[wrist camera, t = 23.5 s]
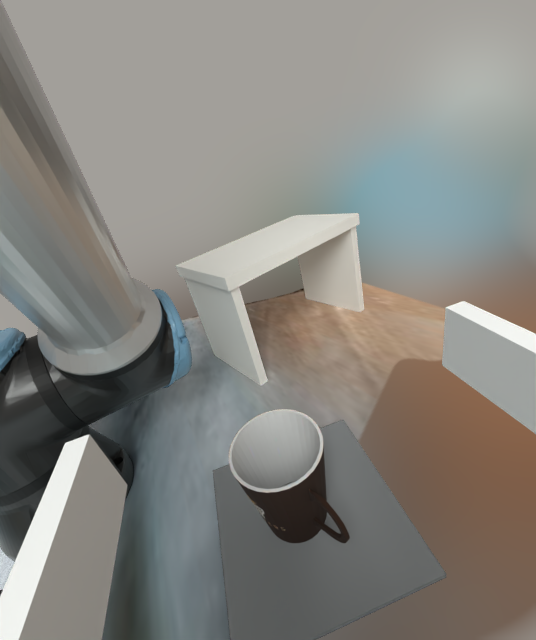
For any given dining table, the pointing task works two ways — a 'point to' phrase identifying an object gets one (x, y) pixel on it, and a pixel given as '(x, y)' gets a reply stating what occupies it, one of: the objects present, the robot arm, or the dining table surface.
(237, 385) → the dining table surface
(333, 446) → the placemat
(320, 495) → the coffee mug
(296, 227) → the shelf stand
